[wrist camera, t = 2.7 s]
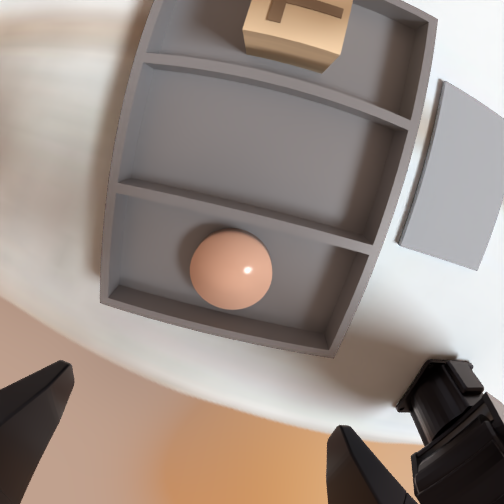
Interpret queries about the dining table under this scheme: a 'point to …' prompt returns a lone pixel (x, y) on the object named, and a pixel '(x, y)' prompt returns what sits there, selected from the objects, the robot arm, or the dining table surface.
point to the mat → (458, 182)
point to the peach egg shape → (231, 269)
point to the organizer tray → (261, 167)
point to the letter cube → (297, 31)
